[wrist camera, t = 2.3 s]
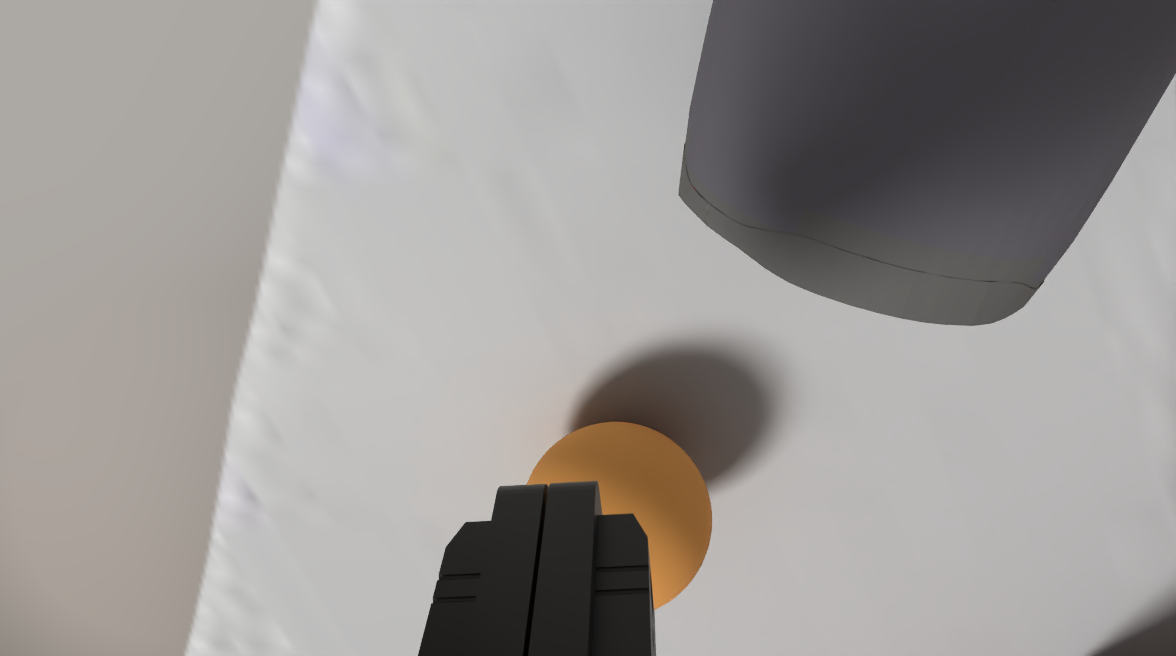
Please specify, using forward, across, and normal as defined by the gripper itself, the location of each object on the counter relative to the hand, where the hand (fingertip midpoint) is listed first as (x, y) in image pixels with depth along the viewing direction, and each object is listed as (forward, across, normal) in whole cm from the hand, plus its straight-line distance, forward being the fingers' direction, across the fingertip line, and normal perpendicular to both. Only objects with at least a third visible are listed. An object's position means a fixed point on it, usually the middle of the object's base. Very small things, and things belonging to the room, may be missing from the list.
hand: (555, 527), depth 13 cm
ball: (+11, 0, +9) cm, 14 cm away
